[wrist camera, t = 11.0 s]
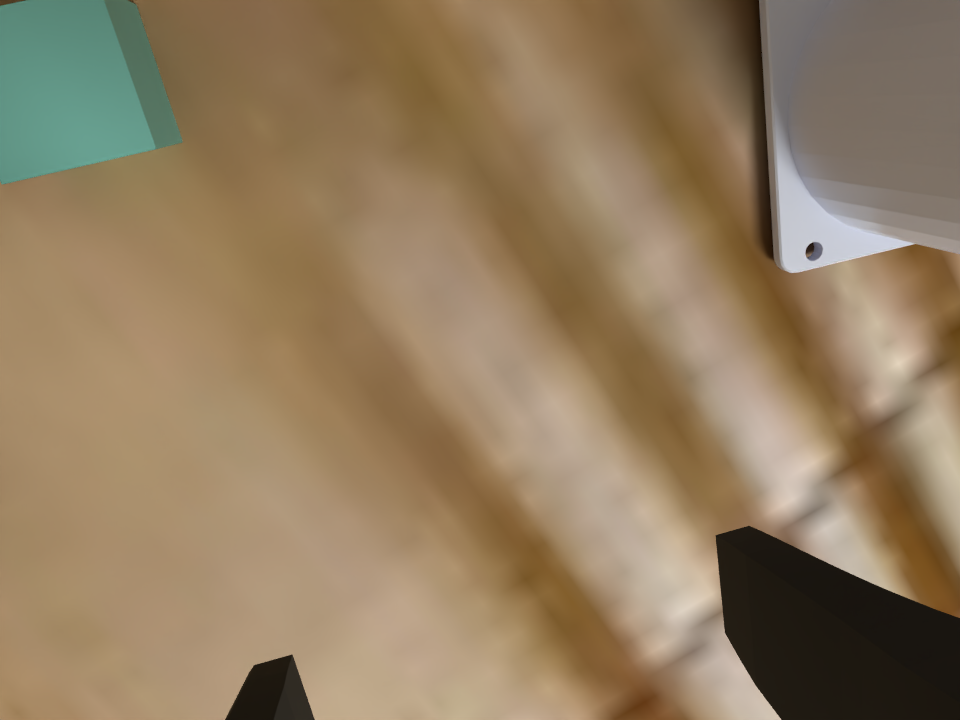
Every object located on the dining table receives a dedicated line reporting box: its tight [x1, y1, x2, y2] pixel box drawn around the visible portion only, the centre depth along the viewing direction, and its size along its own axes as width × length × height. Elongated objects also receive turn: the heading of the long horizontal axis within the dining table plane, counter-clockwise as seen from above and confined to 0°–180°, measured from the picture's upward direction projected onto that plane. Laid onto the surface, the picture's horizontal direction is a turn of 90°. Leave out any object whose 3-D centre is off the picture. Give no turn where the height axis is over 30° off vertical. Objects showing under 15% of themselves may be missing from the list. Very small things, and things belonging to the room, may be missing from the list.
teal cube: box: [0, 0, 183, 184], centre depth 16 cm, size 3×3×3 cm
